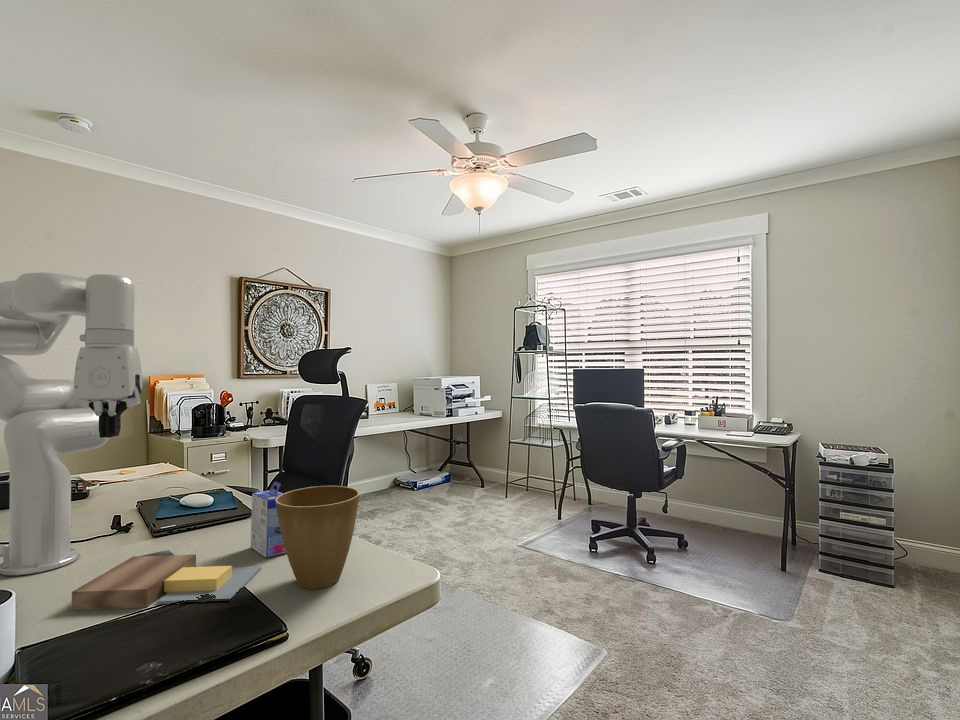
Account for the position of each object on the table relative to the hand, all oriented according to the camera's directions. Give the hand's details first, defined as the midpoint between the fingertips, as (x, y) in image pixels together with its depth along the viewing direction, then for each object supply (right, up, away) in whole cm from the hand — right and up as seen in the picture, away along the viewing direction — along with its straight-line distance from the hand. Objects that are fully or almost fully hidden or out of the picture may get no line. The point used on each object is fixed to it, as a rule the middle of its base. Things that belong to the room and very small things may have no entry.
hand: (109, 436), depth 95 cm
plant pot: (+41, -27, -2) cm, 49 cm away
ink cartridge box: (+24, -27, +15) cm, 40 cm away
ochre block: (+19, -26, -4) cm, 33 cm away
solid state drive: (+3, -28, +9) cm, 30 cm away
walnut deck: (+9, -27, -4) cm, 29 cm away
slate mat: (+22, -27, -3) cm, 35 cm away
